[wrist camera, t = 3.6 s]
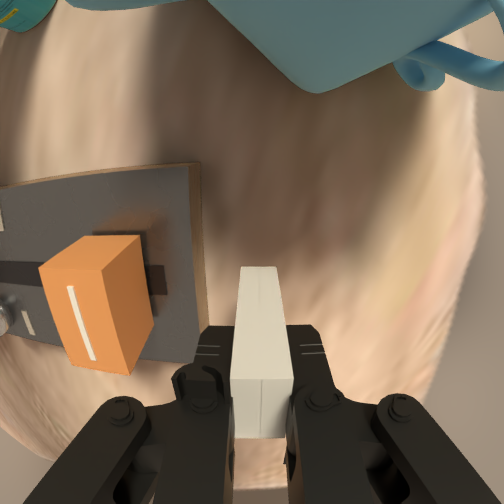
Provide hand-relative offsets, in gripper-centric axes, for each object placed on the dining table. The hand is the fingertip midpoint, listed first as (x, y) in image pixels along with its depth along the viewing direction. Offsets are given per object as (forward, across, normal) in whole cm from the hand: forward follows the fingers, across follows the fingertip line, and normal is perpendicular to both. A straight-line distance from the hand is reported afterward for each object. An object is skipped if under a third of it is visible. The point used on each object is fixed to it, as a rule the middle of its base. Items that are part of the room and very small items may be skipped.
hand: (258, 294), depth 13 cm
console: (+4, -12, 0) cm, 13 cm away
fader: (+1, -7, 0) cm, 7 cm away
